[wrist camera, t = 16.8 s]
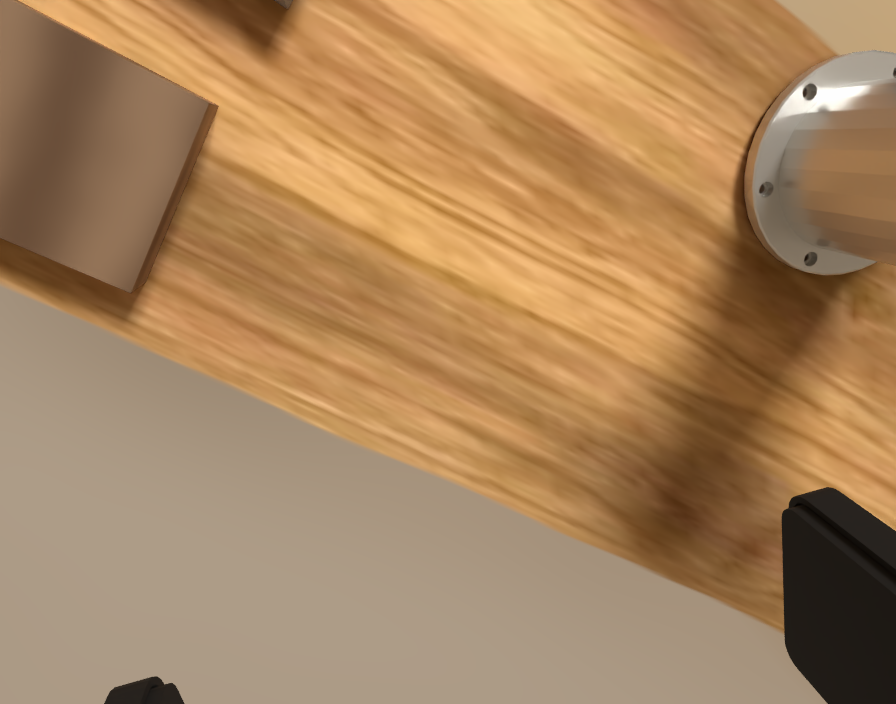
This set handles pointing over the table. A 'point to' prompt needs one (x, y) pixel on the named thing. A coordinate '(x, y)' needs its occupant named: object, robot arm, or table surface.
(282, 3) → the charcoal block
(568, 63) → the table surface
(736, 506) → the table surface
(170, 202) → the walnut block
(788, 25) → the table surface
